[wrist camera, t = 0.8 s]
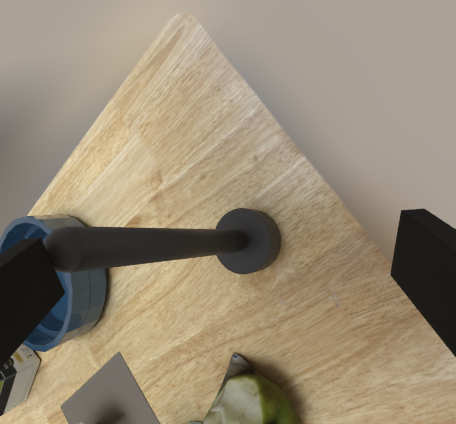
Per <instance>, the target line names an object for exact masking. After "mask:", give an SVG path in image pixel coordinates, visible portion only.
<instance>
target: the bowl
mask: <svg viewBox="0 0 456 424" xmlns="http://www.w3.org/2000/svg"><path fill="white" fill-rule="evenodd" d="M67 226H79V227H85V226H84V225H83V224H82V223H80V222H79V221H78V220H76V219H75V218H73V217H70V216H65V215H42V216H25V217H22V218H18V219H15V220H14V221H13V222H12V223H11V224H10V225H9V226H8V227H7V228H6V229H5V231H4V233H3V235H2V237H1V239H0V254H2V253H3V252H4V251H6V250H7V249H9V248H10V247H12V246H13V245H15V244H16V243H18V242H19V241H20V240H22V239H29V238H41V239H42V241H43V242H44V240H45V239H46V237H47V236H48V235H49V234H50V233H51V232H53V231H54V230H56V229H58V228H62V227H67ZM56 273H57V275H58V277H59V279H60V282H61V284H62V286H63V288H64V290H65V294H64V295H63V297H62V298H61V299H60V300H59V301H58V302H57V304H56V305H55V306H54V307H53V308H52V309H51V311H50V312H49V313H48V314H47V315H46V316H45V318H44V319H43V320H42V321H41V322H40V323H39V325H38V326H37V327H36V328H35V329H34V330H33V332H32V333H31V334H30V335H29V336H28V337H27V339H26V340H25V341H24V342H23V343H22V344H23V345H25V346H27V347H28V348H30V349H31V350H33V351H41V352H46V351H48V350H50V349H52V348H54V347H56V346H59V345H61V344H63V343H65V342H67V341H69V340H71V339H73V338H75V337H77V336H80V335H82V334H84V333H86V332H88V331H90V330H91V328H92V327H93V326H94V325H95V323H96V322H97V321H98V319H99V318H100V315H101V312H102V309H103V306H104V303H105V297H106V290H107V276H106V268H104V269H96V270H87V271H79V272H71V273H62V272H57V271H56Z"/></svg>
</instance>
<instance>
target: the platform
mask: <svg viewBox="0 0 456 424" xmlns="http://www.w3.org/2000/svg"><path fill="white" fill-rule="evenodd" d="M61 409H62V411H63V413H64V415H65V417H66V419H67V422H68V424H160V423H159V422H158V420H157V418H156V416H155V415H154V413H153V411H152V409H151V407H150V406H149V404H148V402H147V400H146V399H145V397H144V395H143V393H142V392H141V390H140V388H139V386H138V384H137V383H136V381H135V379H134V377H133V376H132V374H131V372H130V370H129V369H128V367H127V365H126V363H125V362H124V360H123V358H122V356H121V354H120V353H119V352H118V353H117V354H116V355H115V356H114V357H113V358H112V359H110V360H109V361H108V362H107V363H106V364H105V365H104V366H103V367H102V368H101V369H100V370H99V371H98V372H97V373H96V374H95V375H93V376H92V377H91V378H90V379H89V380H88V381H87V382H86V383H85V384H84V385H83V386H82V387H81V388H80V389H79V390H78V391H76V392H75V393H74V394H73V395H72V396H71V397H70V398H69V399H68V400H67V401H66V402H65V403H64V404H63V405H62V406H61Z"/></svg>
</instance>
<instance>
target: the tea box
mask: <svg viewBox="0 0 456 424" xmlns="http://www.w3.org/2000/svg"><path fill="white" fill-rule="evenodd" d="M39 364H40V359H39V358H38V357H37V356H36V354H35V353H34V352H33V350H31V349H30V348H28V347H27V346H25V345H23V344H21V346H20V347H19V348H18V349H17V350H16V351H15V353H14V354H13V355H12V356H11V357H10V358H9V360H8V361H7V362H6V363H5V364H4V365H3V367H2V368H1V369H0V416H1V415H3V414H5V413H6V412H8V411H10V410H11V409H13V408H14V407H16V406H17V405H19V404H20V403H22V402H24V401H25V400H26V398H27V397H28V394H29V392H30V389H31V386H32V383H33V381H34V378H35V375H36V372H37V370H38V367H39Z"/></svg>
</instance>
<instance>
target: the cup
mask: <svg viewBox="0 0 456 424" xmlns="http://www.w3.org/2000/svg"><path fill="white" fill-rule="evenodd" d="M187 424H203V423H201V422H197V421H191V422H189V423H187Z"/></svg>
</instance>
